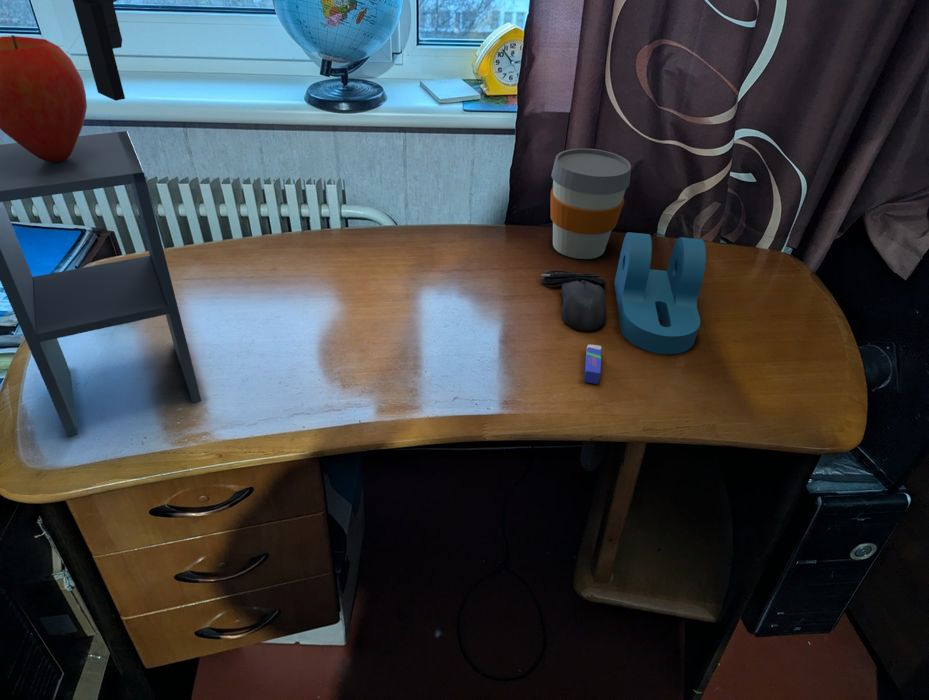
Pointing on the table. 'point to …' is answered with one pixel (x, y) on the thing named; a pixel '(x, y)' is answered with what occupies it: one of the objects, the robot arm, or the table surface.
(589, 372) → the eraser
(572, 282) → the computer mouse
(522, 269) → the table surface
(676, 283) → the bracket
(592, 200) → the reusable coffee cup
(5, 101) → the apple
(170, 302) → the shelf
